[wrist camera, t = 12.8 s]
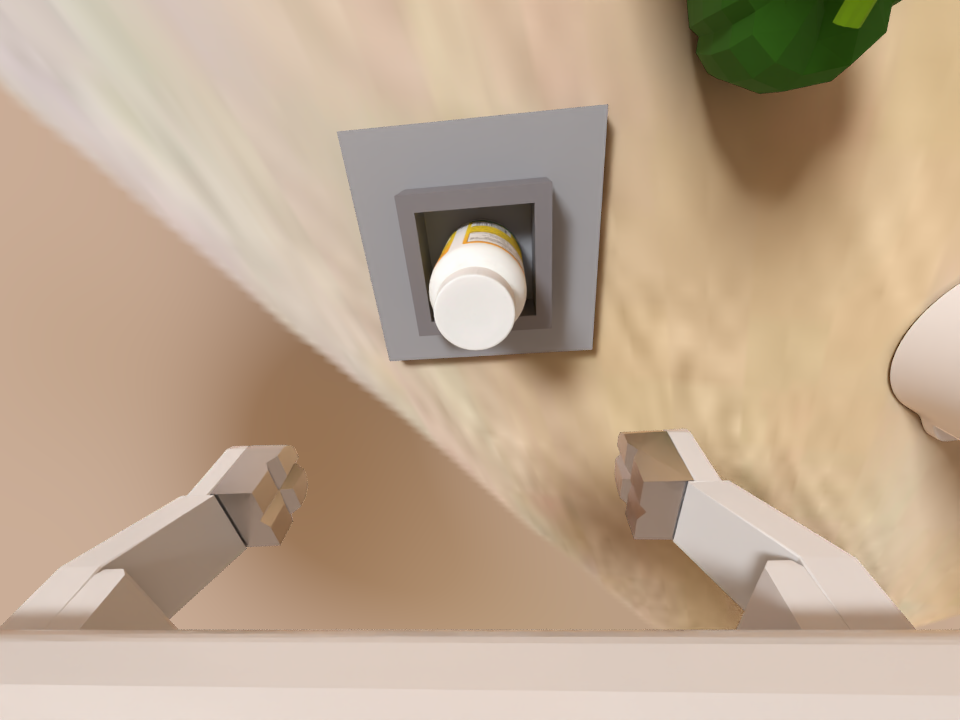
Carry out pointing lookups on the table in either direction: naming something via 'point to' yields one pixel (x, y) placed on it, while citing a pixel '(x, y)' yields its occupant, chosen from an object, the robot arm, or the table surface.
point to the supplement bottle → (478, 285)
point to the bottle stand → (482, 195)
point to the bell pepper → (784, 39)
